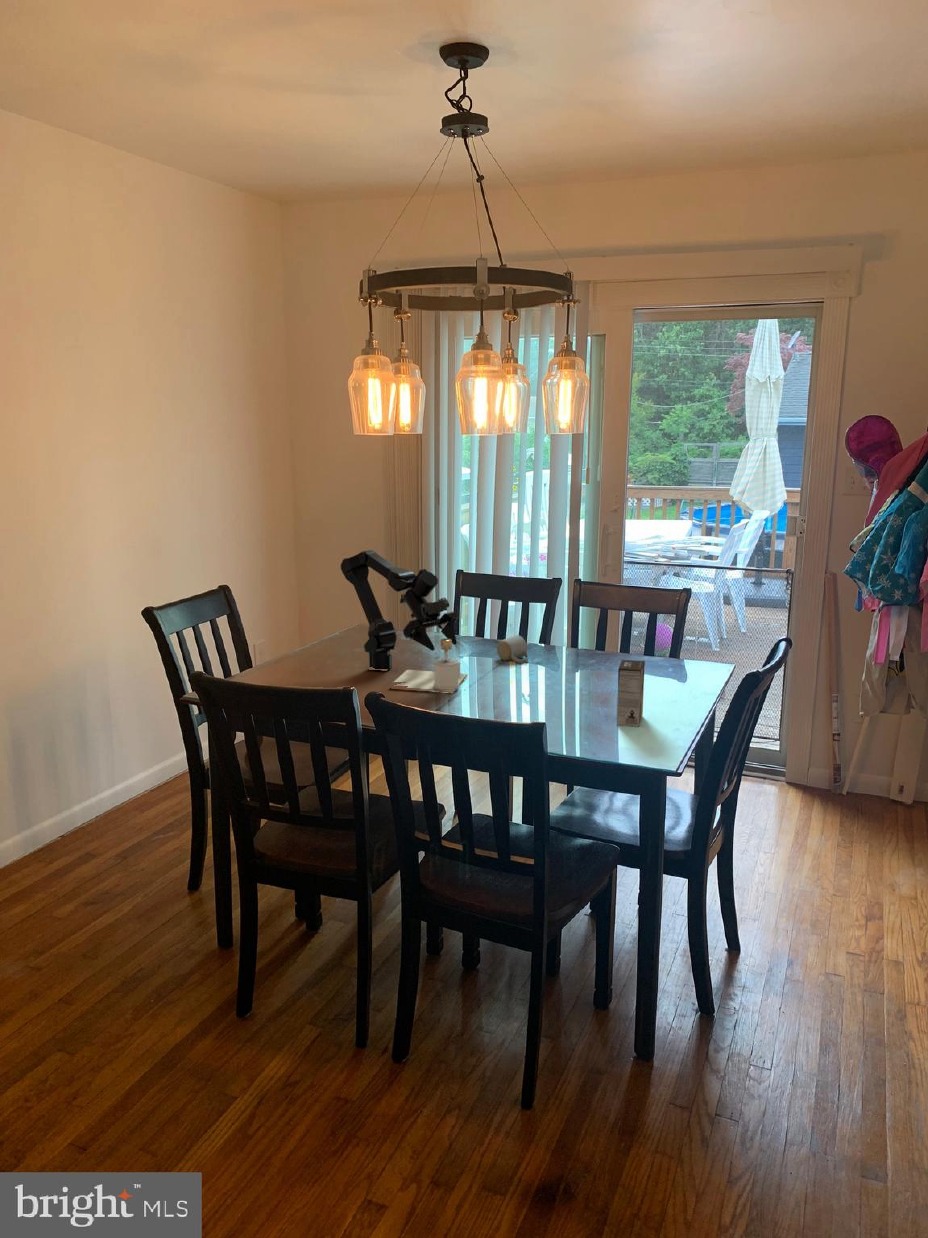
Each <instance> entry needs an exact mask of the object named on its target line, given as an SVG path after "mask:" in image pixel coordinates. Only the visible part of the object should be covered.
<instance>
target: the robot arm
mask: <svg viewBox="0 0 928 1238" xmlns="http://www.w3.org/2000/svg"><path fill="white" fill-rule="evenodd" d="M369 568H371V569H372V570H373V571H374V572H376V573H378V574H379V575H380V576H382V577H383V578H384V579H386V580H387V585H389V586H390V588H391V589H392V590H394V591H395V592H398V593H399V592H403V591H405V592H404V593H403V594H401V595H400V600H399V603H400V604H406V605H407V607H408V608H409V611H411V614H410V617H411V618H412V619H414V620H409V622H407V624H406V626H404V628H403V629H402V631H403V636H404V637H405V638H406V639H410V641H415V642H416V643H418V644H420V645H422V646H423V647H426V648H427V649H429V650H430V651H432V652H434V651H435V649H436V647H435V645H434V644H433V642H432V641H431V639H430V637H429V635H428V634H427V629H429V628H433V627H438V629H440V632H441V633H442V635H444V637H446V639H451V640H452V645H453V646H456V645H457V642H458V641H457V637H456V634H455V623H456V622H457V621H458V619H459V616H458V614H457V613H456V611H449V612H444V611H448V608H449V607H450V603H449V600H448V599H447V598H446V597H441V598H439V599H438V600H437V601H434V602H431V601H429V602H428V600H427V599H426V598H427V597H428V596H430V595H431V593H432V592H433V591H434V589H435V588H436V587H437V585H439V579H438V577H437V575H435V574H434V573H432V572H431V571H427V569H426V568H423V569H419V570H418V574H415V573H414V571H412V570H409V569H407V568H403V567H398V566H396V565H394V564H393V563H391V562H390V561H389V560H386V559H385V558H384V557H382V556H381V555H380V554H378V553H377V552H376V551H375V550H373V549H372V550H371V549H370V550H363V551H361V552H359V553H358V554H355V555H353V556H350V557H346V558H343V559H342V561H341V563H340V570H341V573H342V574H343V576H344V577H345V580H347V581H348V582H349V583H350V584H352V586H353V587H354V590H355V592H356V595H357V597H358V600H359V602H360V605H361V607H362V610H363V614H364V615H365V617H366V619H367V622H368V625H369V626H368V630H367V637H368V639H367V641H366V642H365V643H364V645H363V649H364V652H365V653H368V654H369V655H368V657H369V659H368V660H369V661H368V662H369V667H373V668H375V669H389V668H390V669H391V668H393V655H392V654H391V650H395V645H396V643H397V639H398V638H397V634H396V633H397V631H396V630H395V627H394V624H393V622H392V621H391V620H390V621H387V620H386V619H384V617H383V614H382V612H381V609H380V607H379V605H378V602H377V599H376V596H375V594H374V592H373V589H372V587H371V584H370V583H369V579H368V578H369V574H370V570H369ZM442 612H444V613H443V614H442V615H441V613H442ZM440 616H441V617H440ZM439 617H440V618H439ZM390 669H389V670H390Z"/></svg>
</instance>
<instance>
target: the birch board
mask: <svg viewBox="0 0 928 1238" xmlns="http://www.w3.org/2000/svg"><path fill="white" fill-rule="evenodd" d="M466 677H467V678H468V673H461V672H460V678H459V679H458V683H459V685H460V684H461V683H462V682H463V683H464V681H465V680H466V679H467V678H466ZM465 678H466V679H465ZM464 679H465V680H464ZM393 682H406V683H401V684H397V685H396V686H408V687H407V688H413V689H420V690H434V691H439V692H448V693H453V692H454V690H456V691H457V689H453V690H439V689H436V688H434V685H433V684H434V683H435V671H431V670H417V669H416V670H415V669H407V670H404V672H403V673H402V674H401V675H400V676H398V677H397V678H396V679H395V680H394V681H393ZM463 683H462V684H463ZM462 684H461V685H462ZM461 685H460V686H461ZM394 686H395V685H394ZM454 693H455V692H454ZM454 693H453V694H454Z"/></svg>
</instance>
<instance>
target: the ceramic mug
mask: <svg viewBox="0 0 928 1238" xmlns="http://www.w3.org/2000/svg"><path fill="white" fill-rule="evenodd" d="M496 653H497V655H498V657H499V658H500V659H501V660H502V661H506V662H507V661H514V662H515V663H518V664H525V663H527V662H528V659H529V654H528V645H527V642H526V640H525V639H524V637H522V636H521V635H517V634H516V635H513V636H510V637H508V638H504V639H502V640H500V641H499V642H498V644H497V646H496ZM524 657H525V658H524ZM521 658H523V659H521ZM524 662H525V663H524Z"/></svg>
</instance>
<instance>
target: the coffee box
mask: <svg viewBox="0 0 928 1238" xmlns="http://www.w3.org/2000/svg"><path fill="white" fill-rule="evenodd" d="M645 664H646V660H636V659H635V660H631V659H622V660H621V661H620V664H619V667H618V671H617V672H618V673H617V674H618V675H617V703H616V725H617V726H625V727H637V728H639V727H640V726H641V723H642V718H643V715H644V713H643V711H644V689H645V687H644V684H645V668H646V666H645Z"/></svg>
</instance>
